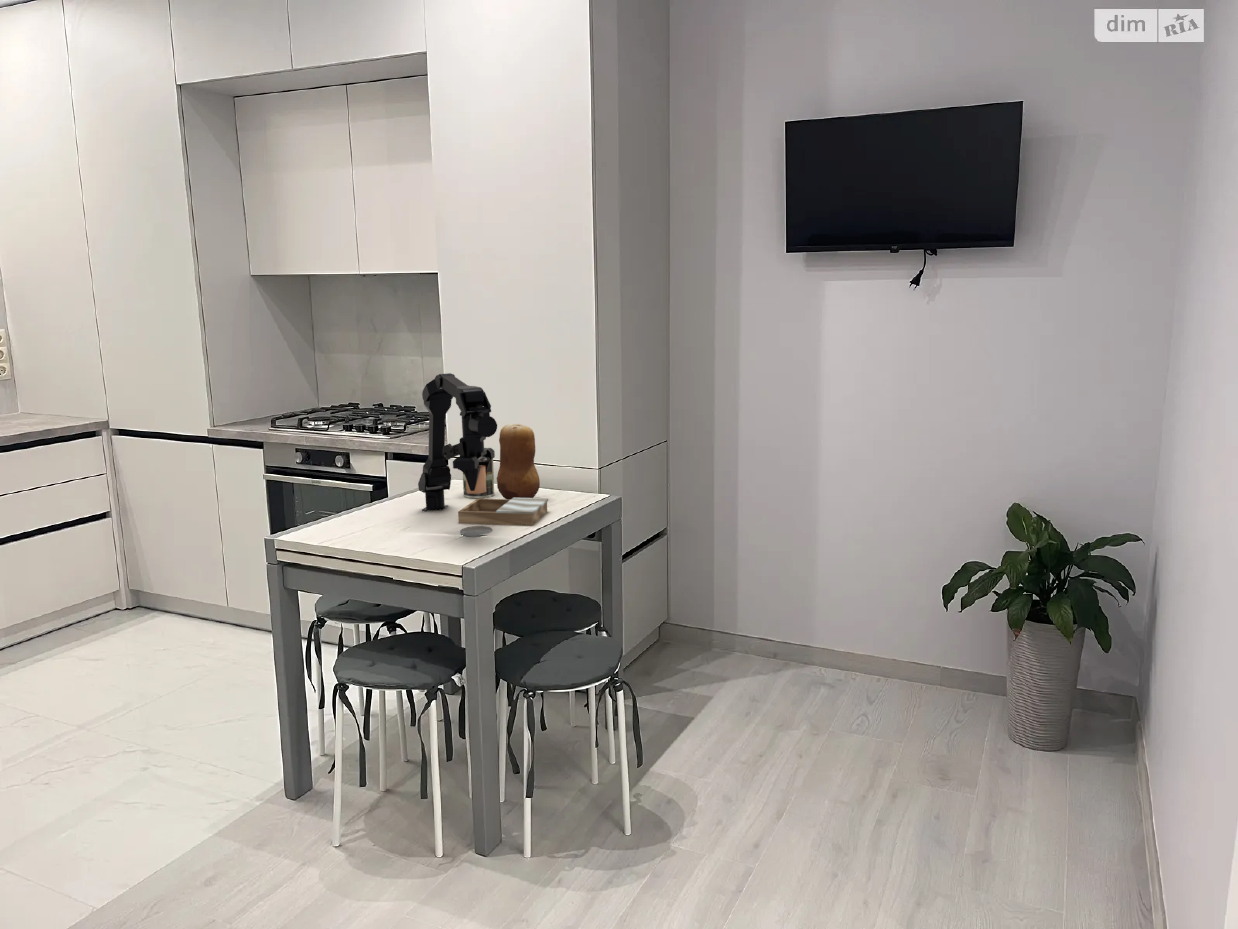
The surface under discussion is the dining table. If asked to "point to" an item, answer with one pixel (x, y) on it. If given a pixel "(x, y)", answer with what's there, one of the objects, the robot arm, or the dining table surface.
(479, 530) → the saucer
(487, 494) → the coffee can
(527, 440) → the butternut squash
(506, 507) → the box
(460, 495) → the dining table surface
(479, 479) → the tan cylinder
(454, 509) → the dining table surface
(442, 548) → the dining table surface
